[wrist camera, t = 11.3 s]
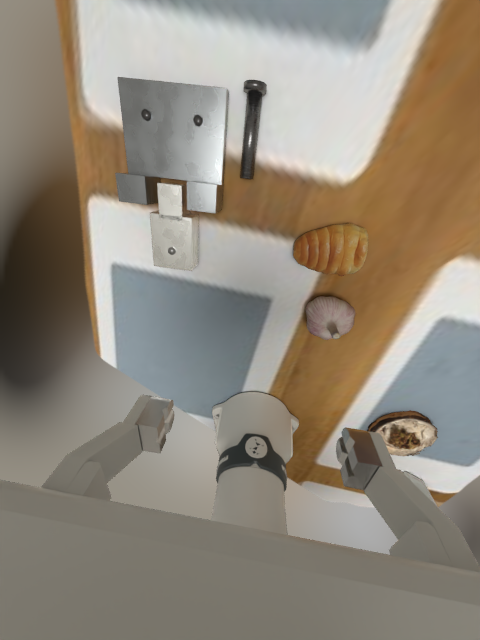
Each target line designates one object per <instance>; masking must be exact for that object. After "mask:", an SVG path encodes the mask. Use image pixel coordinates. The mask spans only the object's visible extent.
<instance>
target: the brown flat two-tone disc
mask: <svg viewBox="0 0 480 640" xmlns="http://www.w3.org/2000/svg"><path fill="white" fill-rule="evenodd" d="M368 428H369V429H368V431H369V432H375V433H380V435H381V436H382V438H383V440H384V442H385V445H386V447H387V449H388V451H389V454H391V455H398V456H409V455H412V456H414V454H416V453H417V452H421V450H423V448H425V447H428V446H431V445H432V444H433V443H434V442H435V440H436V439H437V438H438V437H437V432H438V431H436V430H437V428H436V427H435V426H433V425H432V424H431V422H430V420H429V419H428V418H427V417H425V416H423V415H422V414H421V413H419V412H416V411H411V410H410V411H407V412H396V413H390V414H388V415H385V416H382V417H380V418H379V419H377V420H376V421H375V422H373V423H371V424H370V425H369V427H368ZM430 443H431V444H430ZM423 451H424V450H423ZM417 454H420V453H417ZM417 454H416V455H417Z"/></svg>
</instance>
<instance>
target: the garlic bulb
mask: <svg viewBox="0 0 480 640" xmlns="http://www.w3.org/2000/svg"><path fill="white" fill-rule="evenodd" d="M306 313H307V328H308V330H309V332H310V333H312V334H313V335H315V336H319V337H321V338H322V339H325V340H328V339H331V338H333V339H339V338H340V336H341V335H344V334H346V333H348V332H349V331H350V329H351V328H352V327H353V325H354V317H355V310H354V308H353V307H352V306H351V305H349V304H348V303H347V302H346V301H344V300H339V299H338V298H336V297H325V296H319V297H317V298H315V299H314V300H313V301H311V302H309V303H308V304H307V306H306Z"/></svg>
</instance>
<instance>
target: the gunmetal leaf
mask: <svg viewBox="0 0 480 640" xmlns="http://www.w3.org/2000/svg"><path fill="white" fill-rule="evenodd" d="M118 85H119V94H120V103H121V112H122V121H123V130H124V138H125V147H126V156H127V165H128V174H127V173H115V174H116V181H117V189H118V196H119V201H121V202H129V203H137V204H145V205H148V204H154V203H158V187H157V183H160V177H161V178H169V179H178V180H186V181H187V210H193V211H201V212H209V213H217V212H219V211H220V210H222V200H223V183H224V166H225V149H226V132H227V115H228V98H229V92H228V90H227V88H221V87H211V86H201V85H191V84H182V83H172V82H162V81H152V80H142V79H133V78H123V77H118Z"/></svg>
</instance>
